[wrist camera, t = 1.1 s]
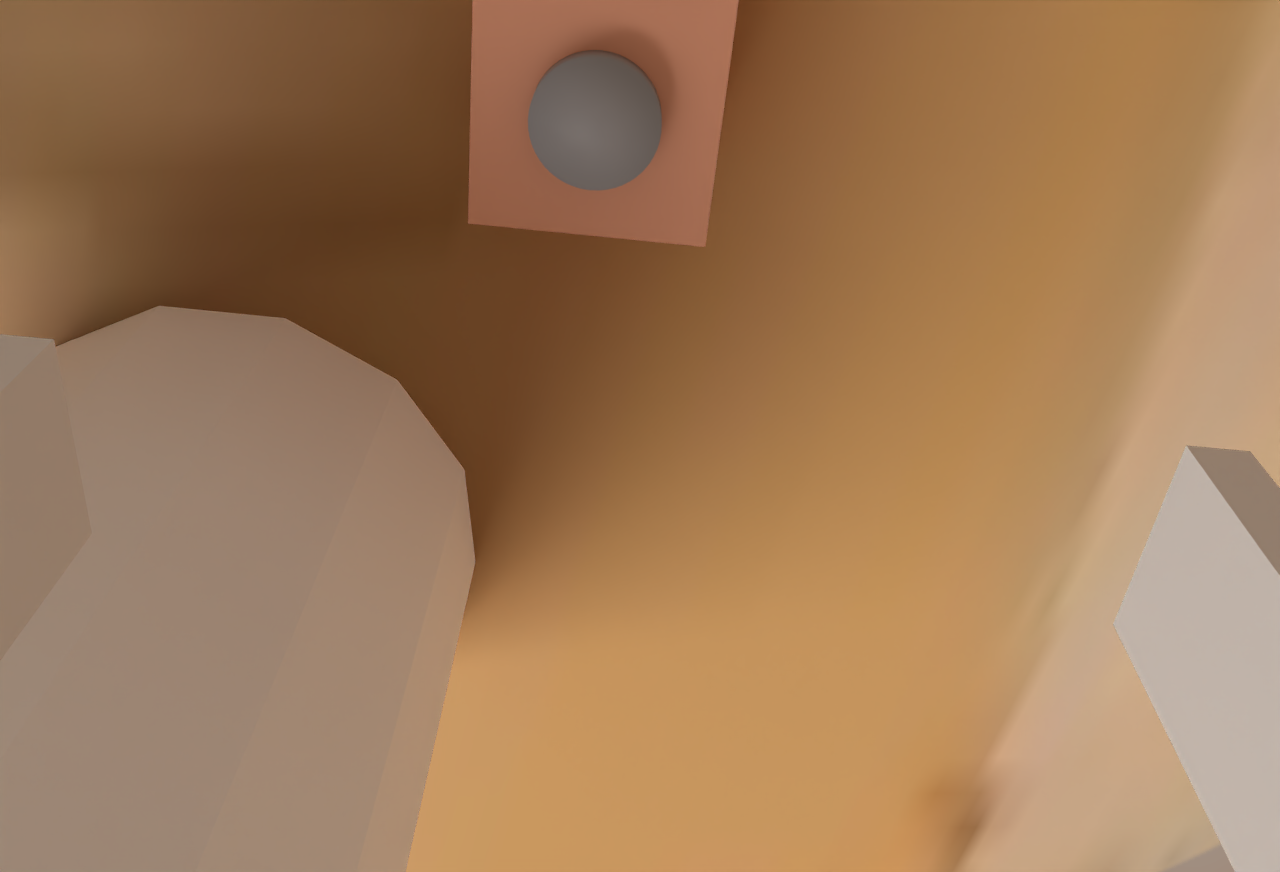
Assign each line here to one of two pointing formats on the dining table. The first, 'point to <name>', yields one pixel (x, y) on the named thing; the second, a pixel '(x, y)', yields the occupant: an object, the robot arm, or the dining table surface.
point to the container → (236, 611)
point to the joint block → (598, 115)
